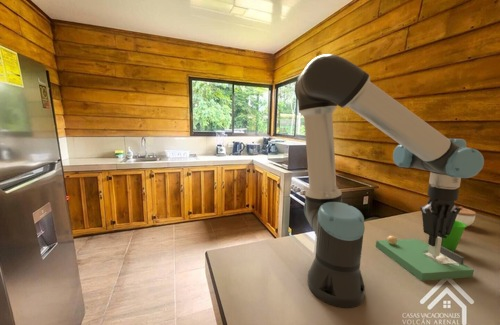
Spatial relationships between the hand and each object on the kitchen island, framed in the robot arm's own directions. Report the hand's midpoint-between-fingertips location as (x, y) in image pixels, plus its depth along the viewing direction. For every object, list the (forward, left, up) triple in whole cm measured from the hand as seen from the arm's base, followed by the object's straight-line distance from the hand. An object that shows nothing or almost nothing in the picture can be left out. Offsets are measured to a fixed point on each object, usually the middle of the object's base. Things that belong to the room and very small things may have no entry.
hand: (433, 254), depth 74 cm
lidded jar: (+46, +29, -4) cm, 55 cm away
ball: (+3, 0, -2) cm, 4 cm away
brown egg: (-7, +10, 0) cm, 12 cm away
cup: (+16, +9, -4) cm, 19 cm away
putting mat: (-2, +3, -4) cm, 5 cm away
